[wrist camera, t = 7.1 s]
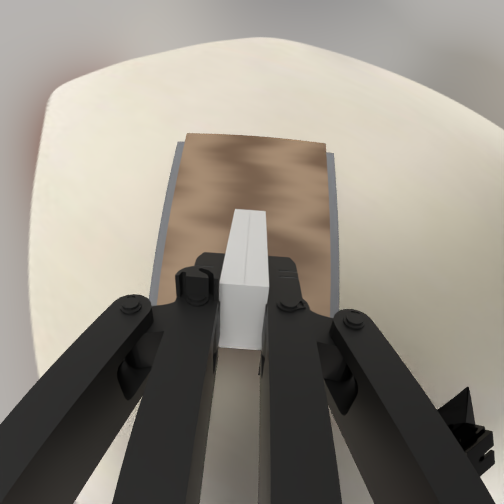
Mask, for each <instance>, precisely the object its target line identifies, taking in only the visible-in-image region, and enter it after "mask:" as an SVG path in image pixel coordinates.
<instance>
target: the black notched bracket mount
mask: <svg viewBox="0 0 504 504" xmlns="http://www.w3.org/2000/svg"><path fill="white" fill-rule="evenodd" d="M437 411H438V412H439V414H440V415H441V417H442V418H443V420H444V421H445V423H446V424H447V426H448V427H449V429H450V430H451V432H452V433H453V435H454V437H455V438H456V440H457V441H458V443H459V444H460V446H461V447H462V449H463V451H464V452H465V454H466V455H467V457H468V458H469V460H470V462H471V463H472V465H473V467H474V468H475V470H476V471H477V473H478V475H479V476H481V475H482V474H483V473H485V472H486V471H487V470H488V469H489V468H490V467H491V466H493V465H494V464H495V458H494V451H493V450H490V451H489V452H488V453H487V454H485V453H486V452H487V451H488V450H489V449H490V448H491V447H492V446H494V442H493V431H489V430H485V427H484V426H479V425H475V420H474V414H473V407H472V401H471V396H470V391H469V387H466V388H465V389H464V390H463V391H462V392H460V393H459V394H458V395H457V396H455V397H454V398H453V399H451V400H450V401H449V402H448V403H446V404H445V405H444V406H442V407H441V408H440V409H438V410H437Z"/></svg>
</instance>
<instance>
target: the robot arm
mask: <svg viewBox="0 0 504 504" xmlns="http://www.w3.org/2000/svg"><path fill="white" fill-rule="evenodd" d="M175 283H176V296H177V298H176V300H175V302H172V303H169V304H164V305H156V306H152V305H151V302H150V300H149V299H148V298H146V297H144V296H142V295H136V294H133V295H126V296H123V297H120V298H119V299H117V300H116V301H114V302H113V303H112V304H111V305H110V306H109V307H108V308H107V309H106V310H105V311H104V312H103V313H102V314H101V315H100V316H99V317H98V318H97V319H96V320H95V321H94V322H93V323H92V324H91V325H90V326H89V327H88V328H87V329H86V330H85V331H84V332H83V333H82V334H81V335H80V336H79V338H78V339H77V340H76V341H75V342H74V343H73V344H72V345H71V346H70V347H69V348H68V349H67V350H66V351H65V352H64V353H63V354H62V355H61V356H60V357H59V359H58V360H57V361H56V362H55V363H54V364H53V365H52V366H51V367H50V368H49V369H48V370H47V372H46V373H45V374H44V375H43V376H42V377H41V378H40V379H39V380H38V381H37V383H36V384H35V385H34V386H33V387H32V388H31V389H30V390H29V392H28V393H27V394H26V395H25V396H24V397H23V398H22V400H21V401H20V402H19V403H18V404H17V405H16V406H15V408H14V409H13V410H12V411H11V412H10V414H9V415H8V416H7V417H6V418H5V420H4V421H3V422H2V423H1V424H0V504H73V503H74V501H75V500H76V498H77V497H78V495H79V493H80V492H81V490H82V489H83V487H84V486H85V484H86V482H87V481H88V479H89V478H90V476H91V475H92V473H93V471H94V470H95V468H96V467H97V465H98V464H99V462H100V460H101V459H102V457H103V456H104V454H105V453H106V451H107V450H108V448H109V446H110V445H111V443H112V442H113V440H114V439H115V437H116V436H117V434H118V432H119V431H120V429H121V428H122V426H123V425H124V423H125V422H126V420H127V419H128V417H129V416H130V414H131V412H132V411H133V409H134V408H135V406H136V405H137V403H138V402H139V400H140V399H141V397H142V399H141V402H140V406H139V409H138V412H137V415H136V419H135V422H134V425H133V429H132V432H131V435H130V439H129V442H128V446H127V449H126V453H125V456H124V460H123V464H122V467H121V471H120V475H119V479H118V482H117V486H116V490H115V494H114V498H113V502H112V504H199V503H200V494H201V486H202V477H203V469H204V460H205V452H206V444H207V436H208V428H209V421H210V413H211V405H212V398H213V390H214V383H215V376H216V368H217V361H218V344H219V347H224V348H236V349H251V350H261V347H262V352H261V359H260V366H259V374H258V375H260V427H259V488H258V504H342V500H341V492H340V484H339V476H338V469H337V462H336V455H335V448H334V441H333V434H332V428H331V422H330V415H329V409H328V405H329V408H330V410H331V412H332V414H333V416H334V418H335V420H336V422H337V425H338V427H339V429H340V431H341V433H342V435H343V437H344V439H345V442H346V444H347V446H348V448H349V450H350V452H351V454H352V457H353V459H354V461H355V463H356V465H357V467H358V469H359V471H360V474H361V476H362V478H363V480H364V482H365V484H366V486H367V489H368V491H369V493H370V495H371V497H372V499H373V501H374V504H495V502H494V500H493V499H492V497H491V495H490V493H489V492H488V490H487V488H486V486H485V485H484V483H483V481H482V480H481V478H480V476H479V475H478V473H477V471H476V470H475V468H474V467H473V465H472V463H471V462H470V460H469V458H468V457H467V455H466V454H465V452H464V451H463V449H462V447H461V446H460V444H459V443H458V441H457V440H456V438H455V437H454V435H453V433H452V432H451V430H450V429H449V427H448V426H447V424H446V423H445V421H444V420H443V418H442V417H441V415H440V414H439V412H438V411H437V409H436V408H435V407H434V405H433V404H432V402H431V401H430V399H429V398H428V396H427V395H426V393H425V392H424V391H423V389H422V388H421V386H420V385H419V383H418V382H417V381H416V379H415V378H414V376H413V375H412V374H411V372H410V371H409V369H408V368H407V367H406V365H405V364H404V363H403V361H402V360H401V358H400V357H399V356H398V354H397V353H396V352H395V350H394V349H393V348H392V346H391V345H390V343H389V342H388V341H387V339H386V338H385V337H384V335H383V334H382V333H381V331H380V330H379V329H378V328H377V326H376V325H375V324H374V322H373V321H372V320H371V319H370V318H369V317H368V316H367V315H366V314H364V313H362V312H360V311H357V310H353V309H344V310H340V311H338V312H337V313H336V314H335V315H334V318H330V317H326V316H323V315H320V314H317V313H315V312H313V311H311V310H310V307H309V305H308V303H307V302H306V301H305V300H304V299H303V298H302V293H301V288H300V283H299V279H298V273H297V267H296V264H295V263H294V262H293V260H292V259H291V258H290V257H278V256H268V250H267V230H266V211H256V210H243V209H235V211H234V216H233V220H232V225H231V230H230V234H229V239H228V244H227V248H226V253H225V254H224V253H211V252H203V253H202V254H201V255H200V256H198V257H197V259H196V262H195V264H194V266H190V267H185V268H183V269H181V270H179V271H178V272H177V273H176V274H175Z"/></svg>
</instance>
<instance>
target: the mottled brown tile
mask: <svg viewBox="0 0 504 504" xmlns="http://www.w3.org/2000/svg"><path fill="white" fill-rule="evenodd" d="M235 209H243V210H256V211H266V230H267V250H268V256H278V257H290V258H291V259H292V260H293V262H294V263H295V264H296V267H297V273H298V279H299V283H300V288H301V293H302V298H303V299H304V300H305V301H306V302H307V303H308V305H309V307H310V310H311V311H313V312H315V313H317V314H320V315H323V316H326V317H330V286H331V257H330V212H329V189H328V171H327V156H326V144H325V143H317V142H309V141H301V140H292V139H282V138H271V137H259V136H244V135H226V134H197V133H187V135H186V139H185V144H184V148H183V152H182V157H181V162H180V166H179V171H178V176H177V181H176V186H175V191H174V196H173V201H172V206H171V212H170V217H169V223H168V229H167V235H166V241H165V248H164V254H163V261H162V268H161V275H160V283H159V291H158V299H157V305H164V304H169V303H172V302H175V300H176V298H177V296H176V283H175V274H176V273H177V272H178V271H179V270H181V269H183V268H185V267H190V266H194V264H195V262H196V259H197V257H198V256H200V255H201V254H202V253H203V252H211V253H224V254H225V253H226V248H227V244H228V239H229V234H230V230H231V225H232V220H233V216H234V211H235Z"/></svg>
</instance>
